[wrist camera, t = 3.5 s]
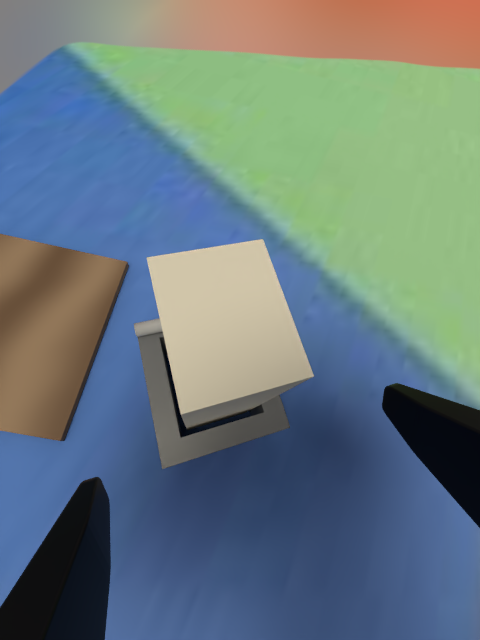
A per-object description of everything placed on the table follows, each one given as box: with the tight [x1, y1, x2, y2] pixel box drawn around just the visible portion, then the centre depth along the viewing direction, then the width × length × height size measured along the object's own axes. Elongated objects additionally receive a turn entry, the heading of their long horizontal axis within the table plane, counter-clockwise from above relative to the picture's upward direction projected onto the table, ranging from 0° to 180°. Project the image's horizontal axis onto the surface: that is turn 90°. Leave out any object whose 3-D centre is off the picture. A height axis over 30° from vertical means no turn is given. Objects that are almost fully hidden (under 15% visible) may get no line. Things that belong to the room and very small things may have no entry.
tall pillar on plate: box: [147, 239, 314, 430], centre depth 15 cm, size 5×4×13 cm
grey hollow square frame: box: [134, 318, 290, 469], centre depth 19 cm, size 8×7×5 cm
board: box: [0, 234, 129, 441], centre depth 20 cm, size 12×13×1 cm
